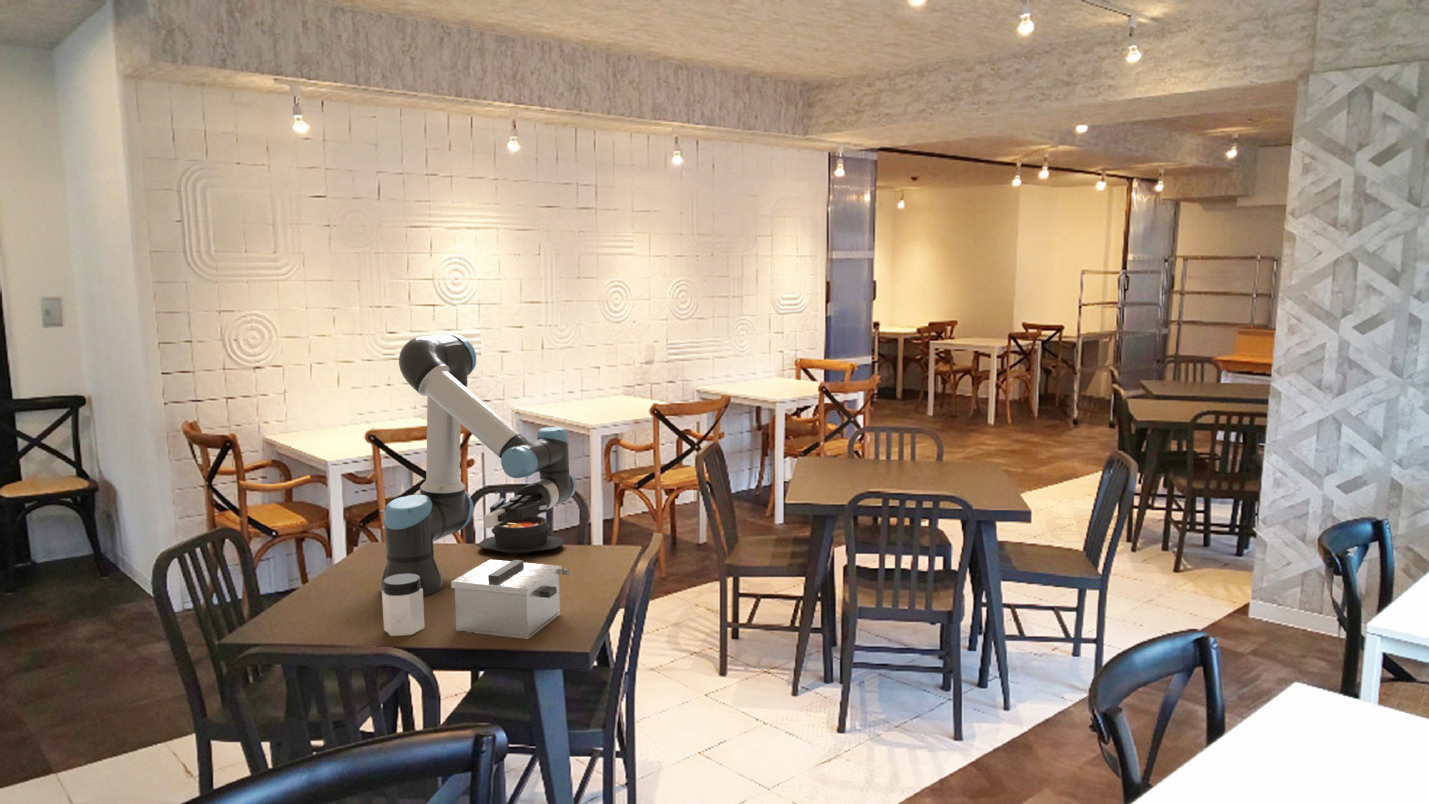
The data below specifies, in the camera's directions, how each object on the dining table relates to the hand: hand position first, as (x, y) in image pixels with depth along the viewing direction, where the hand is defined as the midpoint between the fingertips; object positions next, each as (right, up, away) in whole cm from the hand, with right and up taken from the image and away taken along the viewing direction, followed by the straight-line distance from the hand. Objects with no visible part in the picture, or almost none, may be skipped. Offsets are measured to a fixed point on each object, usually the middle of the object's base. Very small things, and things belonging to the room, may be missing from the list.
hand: (487, 521), depth 212 cm
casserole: (-6, -17, +70) cm, 73 cm away
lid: (+2, -15, +10) cm, 18 cm away
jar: (-21, -26, +7) cm, 34 cm away
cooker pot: (+3, -25, +12) cm, 27 cm away
